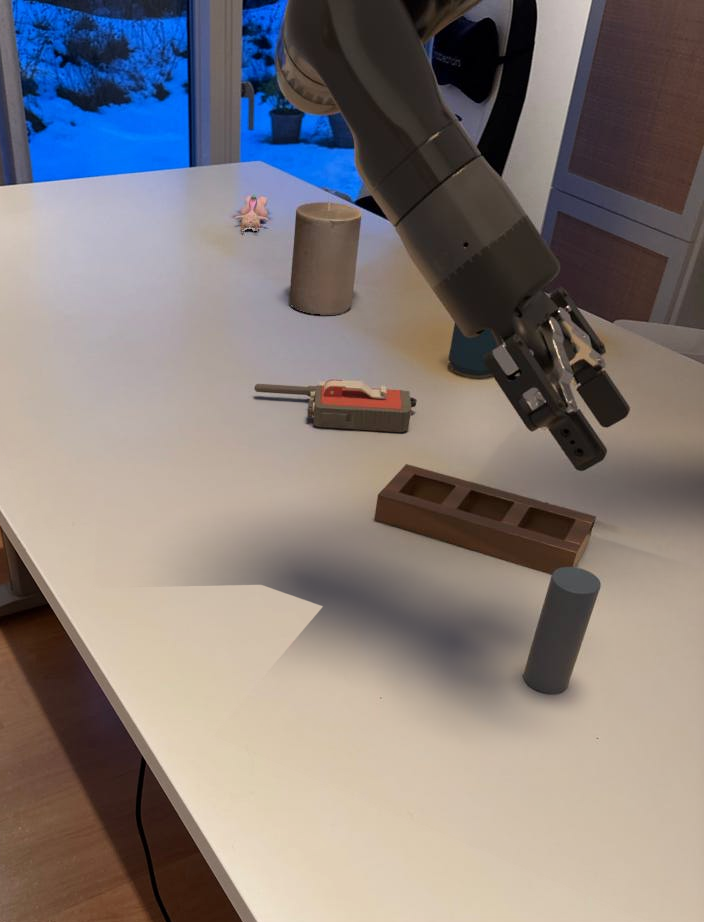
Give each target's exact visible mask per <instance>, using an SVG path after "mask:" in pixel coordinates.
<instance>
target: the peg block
mask: <svg viewBox="0 0 704 922" xmlns="http://www.w3.org/2000/svg"><path fill="white" fill-rule="evenodd" d="M596 519H597V516H596V515H592V514H590V513H585V512H582V511H579V510H575V509H570V508H567V507H564V506H560V505H556V504H552V503H549V502H546V501H542V500H538V499H534V498H531V497H528V496H523V495H520V494H516V493H513V492H511V491H510V492H509V491H505V490H502V489H498V488H495V487H491V486H488V485H484V484H481V483H477V482H474V481H470V480H469V481H468V480H467V479H463V478H458V477H455V476H453V475H452V476H451V475H447V474H445V473H441V472H437V471H433V470H429V469H426V468H422V467H419V466H415V465H412V464H409V463H406V464H405V465H404V466H403V467H402V468H401V469H400V470H399V471H398V472H397V473H396V474H395V475H394V477H392V479H391V480H390V481H389V482H388V483H387V484H386V485H385V487H383V488H382V489H381V491H379V493H377V497H376V504H375V511H374V519H373V520H374V521H377V522H379V523H383V524H386V525H390V526H393V527H396V528H399V529H402V530H406V531H409V532H413V533H416V534H419V535H422V536H425V537H429V538H432V539H435V540H438V541H441V542H446V543H448V544H452V545H455V546H458V547H462V548H465V549H467V550H471V551H475V552H478V553H482V554H485V555H488V556H492V557H495V558H498V559H501V560H504V561H508V562H510V563H514V564H517V565H521V566H524V567H528V568H530V569H534V570H537V571H541V572H544V573H547V574H550V575H552V573H553V572H554V571H555V570H557V569H559V568H562V567H576V568H577V565H578V563H579V561H580V559H581V557H582V555H583V553H584V552H585V550H586V548H587V546H588V543H589V542H590V538H591V536H592V532H593V529H594V525H595V522H596Z"/></svg>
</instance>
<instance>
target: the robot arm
mask: <svg viewBox="0 0 704 922" xmlns="http://www.w3.org/2000/svg"><path fill="white" fill-rule="evenodd" d="M484 1H485V0H287V2H286V6H285V9H284V13H283V18H282V21H281V25H280V29H279V31H278V35H277V40H276V44H275V50H274V72H275V78H276V82H277V85H278V88H279V90H280V91H281V93H282V95H283V96H284V98H285V99H286V100H287V101H288V102H289V104H291V105H292V106H293V107H294V108H296V110H298V111H301V112H303V113H305V114H309V115H312V116H321V117H322V116H331V115H336V114H339V113H340V114H341V116H342V118H343V120H344V122H345V123H346V125H347V127H348V128H349V131H350V132H351V133H350V134H351V135H352V138H353V143H354V144H353V145H354V148H353V150H354V151H353V159H354V160H353V161H354V166H355V169H356V171H357V174H358V176H359V178H360V180H361V181H362V183H363V184H364V187H365V188H366V189H367V192H369V194H370V195H371V196H372V199H374V201H375V202H376V204H377V205H378V207H379V208H380V210H381V211H382V212H383V214H384V215H385V217H386V218H387V220H388V221H389V222H390V224H391V225H392V227H393V228H394V230H395V231H396V233H397V234H398V237H399V239H400V240H401V243H402V244H403V247H404V248H405V251H406V253H407V254H408V256H409V258H410V260H411V261H412V262H413V264H414V266H415V267H416V268H417V270H418V271H419V273H420V274H421V276H422V277H423V279H424V280H425V282H426V283H427V284H428V286H429V287H430V288H431V290H432V292H433V293H434V294H435V296H436V297H437V299H438V300H439V301H440V304H441V305H442V306H443V307H444V309H445V310H446V312H447V314H448V315H449V316H450V317H451V319H452V320H453V322H454V324H455V323H456V324H457V326H458V327H459V329H460V330H461V332H462V333H463V335H464V336H466V337H468V338H472V337H475V336H477V335H479V334H481V333H482V332H483V331H485V330H490V331H491V332H492V333H493V336H494V338H495V339H496V341H497V344H498V346H497V347H495V348H494V349H492V350H491V351H490V352H488V353H487V354H485V355H484V356H483V360H484V363H485V365H486V366H487V368H488V369H489V371H490V372H491V374H492V375H491V376H492V377H493V378H494V380H495V382H496V383H497V385H498V386H499V388H500V389H501V391H502V392H503V394H504V395H505V397H506V398H507V401H508V402H509V403H510V404H511V406H512V408H513V409H514V411H515V412H516V414H517V415H518V416H519V418H520V420H521V421H522V423H523V424H524V426H525V427H526V429H527V430H528V431H530V432H532V433H533V432H535V431H537V430H538V429H541V430H543V431H547V430H548V432H549V433H550V434H551V436H552V437H553V438H554V440H555V441H556V443H557V444H558V446H559V447H560V449H561V450H562V451H563V453H564V455H565V456H566V458H567V459H568V460H569V462H570V463H571V465H572V466H573V467H574V469H575V470H576V471H579V472H584V471H586V470H588V469H590V468H591V467H593V466H595V465H597V464H599V463H600V462H603V461H604V460H605V458H606V456H607V454H608V448H607V447H606V446H605V443H604V442H603V441H602V440H601V438H600V437H599V435H598V434H597V433H596V431H595V430H594V428H593V427H592V425H591V424H590V422H589V420H588V419H587V418H586V416H585V415H584V413H583V412H582V410H581V409H580V408H578V404H577V401H576V399H575V396H574V393H573V391H572V388H571V385H573V386H577V385H578V386H577V388H576V392H577V393H578V394H579V396H580V397H581V399H582V400H583V402H584V403H585V405H586V406H587V408H588V409H589V410H590V412H591V413H592V416H594V418H595V419H596V421H597V422H598V424H599V425H600V426H601V427H603V428H606V429H607V428H610V427H611V426H613V425H615V424H617V423H619V422H621V421H622V420H624V419H626V418H627V417H628V415H629V414H630V412H631V407H630V405H629V403H628V402H627V400H626V399H625V398H624V396H623V395H622V393H621V391H620V389H619V388H618V387H617V386H616V385H615V383H614V381H613V380H612V378H611V377H610V375H609V374H608V372H607V371H606V370H605V368H606V366H607V365H606V360H605V358H604V357H603V356H604V355H605V354H606V353H607V349H606V346H605V344H604V342H603V341H601V340H600V337H599V336H598V335H597V333H596V332H595V330H594V329H593V327H592V326H591V324H590V323H589V322H588V320H587V319H586V318H585V316H584V315H583V314H582V312H581V311H580V309H579V307H578V306H577V305H576V304H575V302H574V301H573V299H572V298H571V297H570V294H569V293H568V291H567V289H565V288H564V287H562V286H559V287H558V288H555V290H553V291H552V292H550V293H548V294H547V293H546V292H545V291H544V290H543V288H545V287H546V286H547V285H549V283H551V282H552V281H553V280H554V279H555V278H556V277H557V276H558V275H559V273H560V271H561V263H560V262H559V260H558V258H557V257H556V255H555V254H554V252H553V251H552V249H551V248H550V247H549V246H548V245H549V244H547V243H546V241H545V239H544V237H543V236H542V235H541V234H540V232H539V231H538V229H537V227H536V226H535V224H534V223H533V221H532V219H531V218H530V217H529V216H528V214H527V212H526V210H525V209H524V208H523V207H522V205H521V203H520V202H519V200H518V199H517V198H516V196H515V194H514V193H513V192H512V190H511V189H510V187H509V186H508V184H507V182H506V181H505V180H504V179H503V178H502V177H501V175H500V174H499V173H498V172H497V171H496V170H495V169H494V168H493V167H492V166H491V165H490V163H489V162H488V161H487V159H486V158H485V157H484V156H483V155H482V153H481V151H480V149H479V148H478V147H477V145H476V143H474V140H473V139H472V137H471V136H470V135H469V133H468V132H467V130H466V129H465V127H464V126H463V124H462V123H461V121H459V119H458V117H457V116H456V114H455V113H454V112H453V111H452V109H451V107H450V106H448V104H447V102H446V101H445V99H444V96H443V93H442V92H441V89H440V86H439V84H438V80H437V77H436V74H435V71H434V69H433V66H432V62H431V60H430V58H429V56H428V53H427V51H426V49H425V45H427V43H428V42H429V41H430V40H431V39H432V38H434V37H435V36H436V35H437V34H438V33H439V32H440V31H442V30H443V29H444V28H446V27H447V26H449V24H452V23H453V22H454V21H456V20H457V19H459V18H460V17H462V16H464V15H465V14H467V13H468V12H470V11H471V10H472V9H475V8H476V7H477V6H479V4H481V3H482V2H484ZM603 369H604V370H603Z"/></svg>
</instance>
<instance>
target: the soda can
mask: <svg viewBox="0 0 704 922" xmlns="http://www.w3.org/2000/svg"><path fill="white" fill-rule="evenodd" d="M497 346H498V344H497V341H496V339H495V338H494V336H493V333H492V332H491V331H490V330H485V331H483V332H482V333H481V334H479V335H477V336H475V337H472V338H468V337H466V336H464V335H463V333H462V332H461V330H460V329H459V327H458V326H457V324H456V323H455V322H454V324H453V330H452V335H451V342H450V348H449V353H448V361H449V363H450V366H451V368H452V370H453V371H454V372H455V373H456V374H458V375H461V376H464V377H467V378H477V379H479V378H480V379H481V378H487V377H490V376H493V375H492V374H491V372H490V371H489V369H488V368H487V366H486V365H485V363H484V360H483V356H484V355H485V354H487V353H488V352H490V351H491V350H492V349H494V348H495V347H497Z"/></svg>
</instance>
